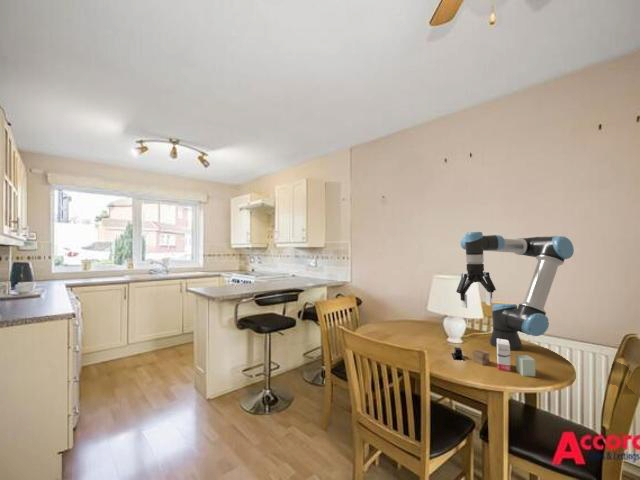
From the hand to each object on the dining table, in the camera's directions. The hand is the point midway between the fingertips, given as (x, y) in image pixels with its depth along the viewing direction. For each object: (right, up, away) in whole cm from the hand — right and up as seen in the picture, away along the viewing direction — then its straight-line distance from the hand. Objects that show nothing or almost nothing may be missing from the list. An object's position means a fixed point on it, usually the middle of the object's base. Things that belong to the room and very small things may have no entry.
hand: (476, 306), depth 141 cm
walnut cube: (0, -26, -3) cm, 27 cm away
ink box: (+8, -26, -9) cm, 29 cm away
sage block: (+13, -26, -15) cm, 33 cm away
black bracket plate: (-7, -27, +4) cm, 29 cm away
